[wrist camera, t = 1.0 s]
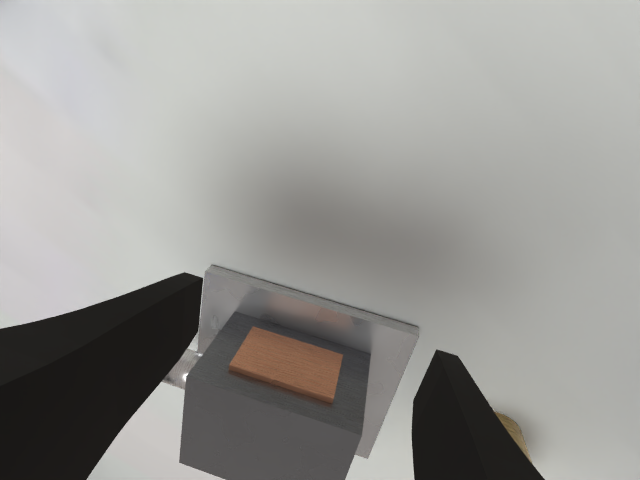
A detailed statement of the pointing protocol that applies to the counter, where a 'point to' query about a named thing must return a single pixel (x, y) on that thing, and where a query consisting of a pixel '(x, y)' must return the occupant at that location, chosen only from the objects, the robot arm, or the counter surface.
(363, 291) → the counter surface
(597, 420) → the counter surface
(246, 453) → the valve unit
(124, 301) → the robot arm
